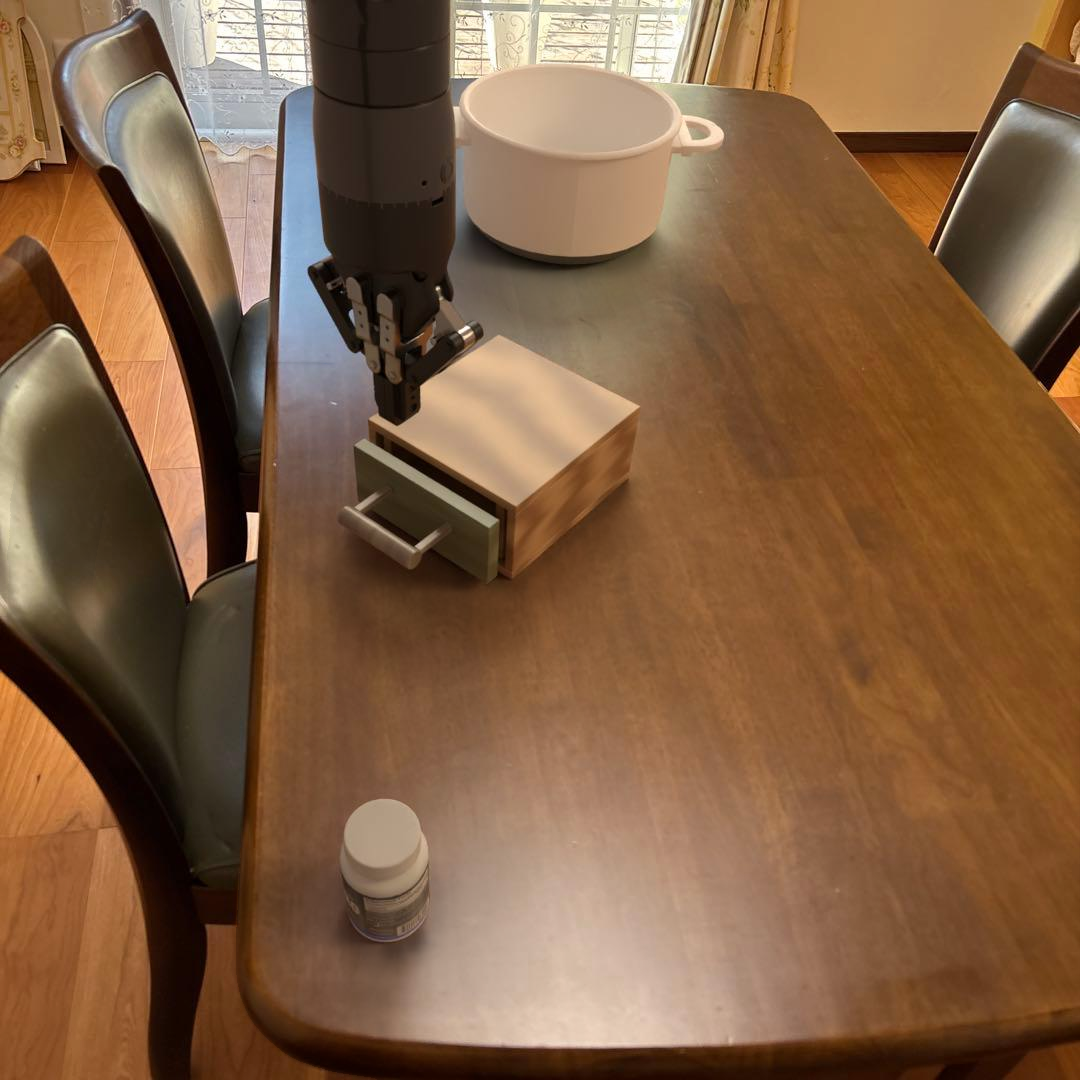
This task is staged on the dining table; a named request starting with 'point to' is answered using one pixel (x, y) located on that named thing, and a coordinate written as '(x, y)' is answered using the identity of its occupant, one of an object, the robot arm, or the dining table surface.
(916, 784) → the dining table surface
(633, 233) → the pot
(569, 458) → the cabinet
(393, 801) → the pill bottle
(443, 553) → the drawer
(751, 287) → the dining table surface
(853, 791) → the dining table surface
